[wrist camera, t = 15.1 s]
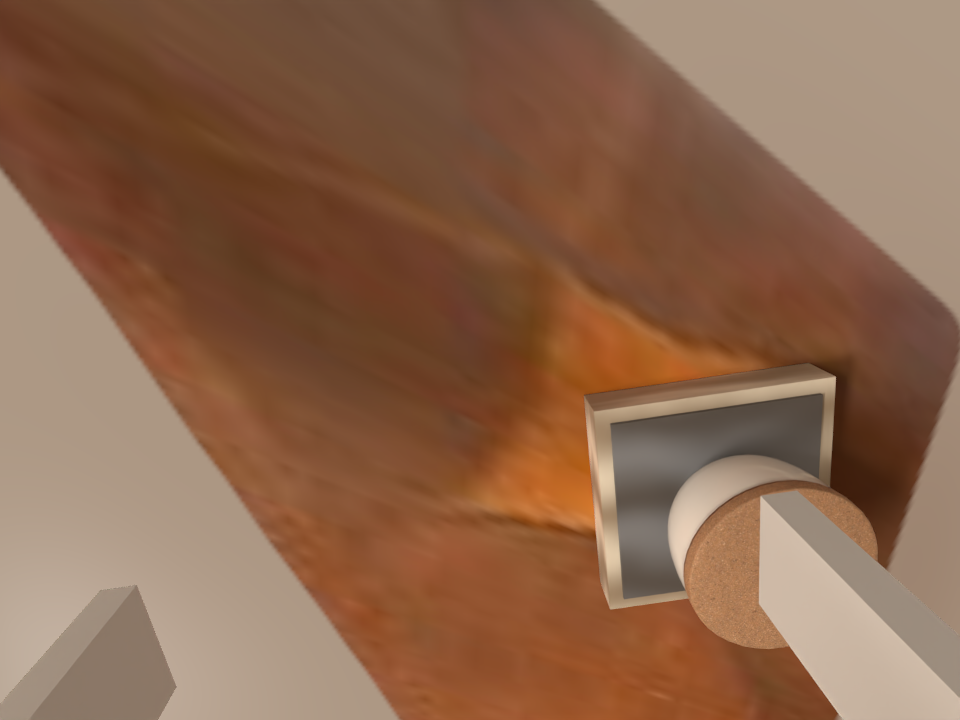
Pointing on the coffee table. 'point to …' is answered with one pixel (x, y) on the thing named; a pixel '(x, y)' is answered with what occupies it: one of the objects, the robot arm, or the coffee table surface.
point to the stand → (690, 458)
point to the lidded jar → (742, 539)
